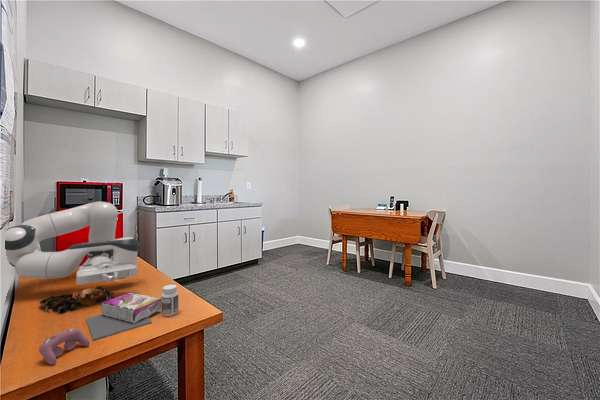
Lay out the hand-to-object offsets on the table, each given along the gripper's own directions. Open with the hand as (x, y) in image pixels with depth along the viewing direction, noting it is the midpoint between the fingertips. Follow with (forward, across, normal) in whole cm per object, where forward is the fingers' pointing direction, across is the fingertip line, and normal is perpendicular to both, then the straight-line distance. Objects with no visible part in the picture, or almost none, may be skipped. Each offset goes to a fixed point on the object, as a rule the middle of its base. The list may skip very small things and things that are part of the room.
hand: (112, 278), depth 102 cm
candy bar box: (+4, 0, -8) cm, 9 cm away
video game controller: (+26, +16, -12) cm, 32 cm away
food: (-16, +8, -12) cm, 21 cm away
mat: (+15, +1, -11) cm, 18 cm away
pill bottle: (+21, -14, -11) cm, 27 cm away
